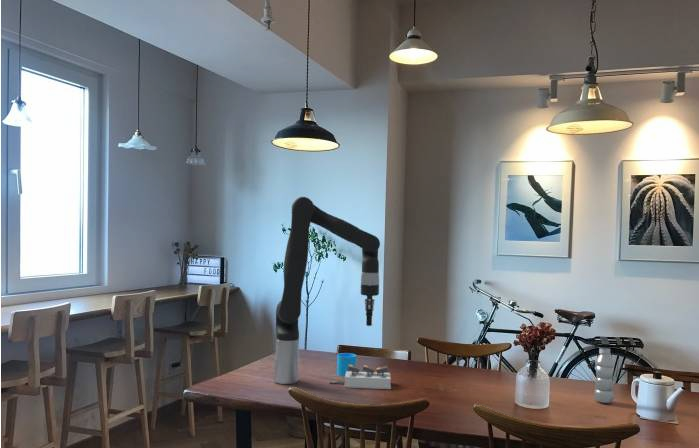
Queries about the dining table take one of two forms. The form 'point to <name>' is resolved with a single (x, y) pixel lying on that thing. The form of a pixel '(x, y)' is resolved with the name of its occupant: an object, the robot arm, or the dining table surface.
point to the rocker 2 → (368, 369)
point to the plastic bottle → (604, 376)
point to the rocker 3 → (382, 369)
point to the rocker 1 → (353, 368)
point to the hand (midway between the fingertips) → (369, 325)
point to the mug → (345, 362)
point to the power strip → (366, 380)
